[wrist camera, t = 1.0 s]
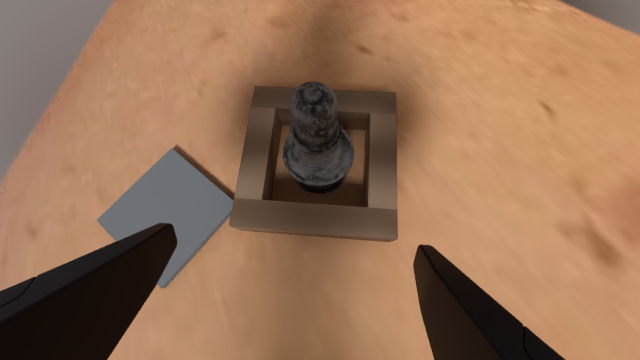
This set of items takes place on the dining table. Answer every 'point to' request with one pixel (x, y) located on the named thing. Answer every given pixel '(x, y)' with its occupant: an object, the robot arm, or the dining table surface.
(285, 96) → the collar
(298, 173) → the grey chess piece
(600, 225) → the dining table surface
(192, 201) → the coaster
